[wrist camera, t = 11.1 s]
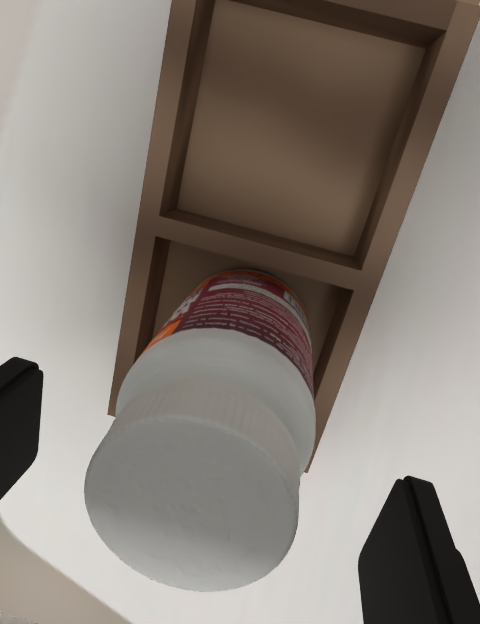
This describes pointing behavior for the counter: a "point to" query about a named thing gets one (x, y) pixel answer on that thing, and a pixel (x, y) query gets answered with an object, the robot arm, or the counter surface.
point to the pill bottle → (210, 439)
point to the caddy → (289, 158)
